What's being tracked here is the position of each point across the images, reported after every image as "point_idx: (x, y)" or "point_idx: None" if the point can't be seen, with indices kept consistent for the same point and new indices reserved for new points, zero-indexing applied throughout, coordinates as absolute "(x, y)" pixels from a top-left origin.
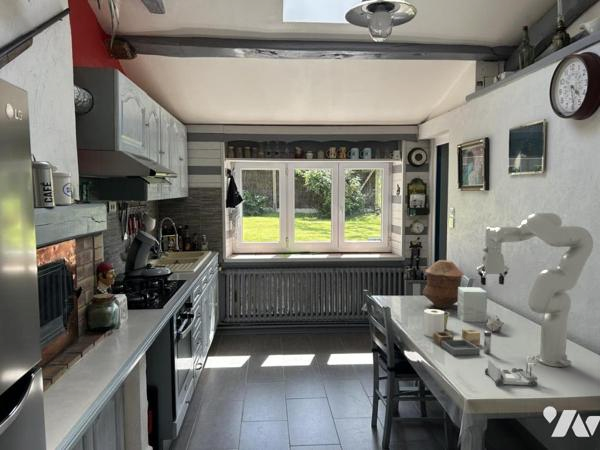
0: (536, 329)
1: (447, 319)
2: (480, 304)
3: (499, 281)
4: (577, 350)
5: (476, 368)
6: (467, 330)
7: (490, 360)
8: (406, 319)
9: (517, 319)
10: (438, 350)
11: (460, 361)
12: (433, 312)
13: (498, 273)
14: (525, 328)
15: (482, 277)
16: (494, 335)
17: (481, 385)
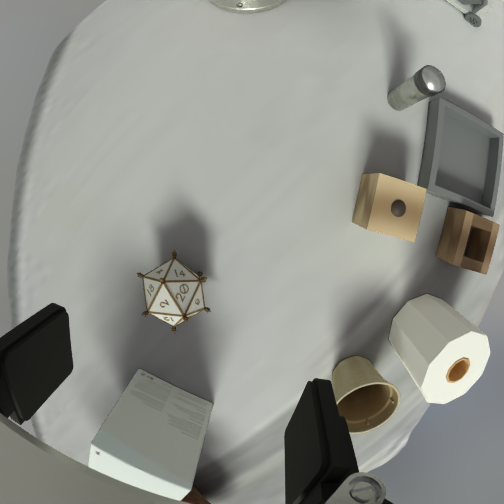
0: (41, 243)
1: (348, 379)
2: (136, 420)
3: (58, 374)
4: (91, 43)
5: (480, 53)
6: (406, 220)
7: (491, 2)
8: (366, 451)
9: None
10: (499, 192)
11: (493, 101)
12: (469, 360)
13: (20, 430)
14: (62, 265)
15: (359, 479)
16: (218, 241)
17: (499, 12)
